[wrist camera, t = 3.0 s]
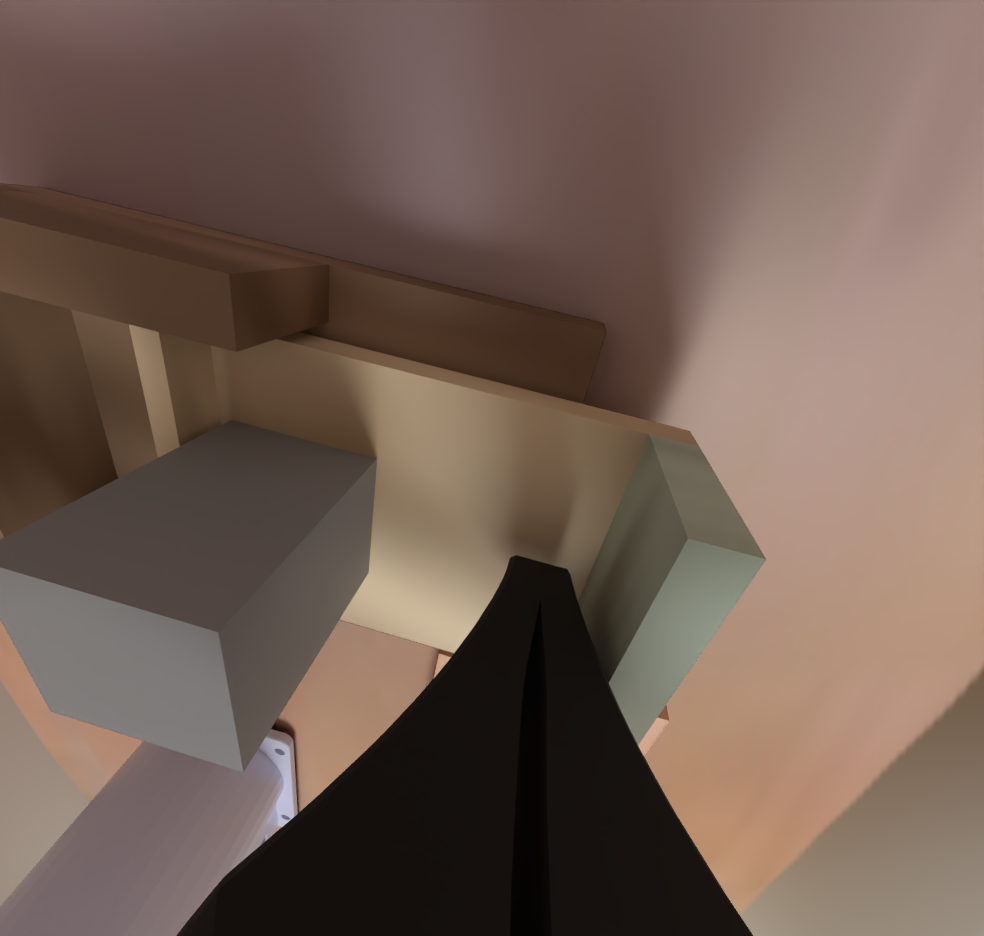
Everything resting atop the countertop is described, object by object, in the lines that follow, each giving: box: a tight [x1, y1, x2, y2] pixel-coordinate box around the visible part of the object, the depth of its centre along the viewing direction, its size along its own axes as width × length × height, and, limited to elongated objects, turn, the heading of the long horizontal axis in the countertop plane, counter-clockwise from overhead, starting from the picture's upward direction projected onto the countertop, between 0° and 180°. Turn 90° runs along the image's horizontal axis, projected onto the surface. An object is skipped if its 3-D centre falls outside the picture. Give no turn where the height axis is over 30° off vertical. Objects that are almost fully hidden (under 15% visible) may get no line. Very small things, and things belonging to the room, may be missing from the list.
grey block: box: [0, 420, 377, 773], centre depth 9 cm, size 4×4×5 cm
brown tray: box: [0, 183, 606, 653], centre depth 11 cm, size 11×14×4 cm
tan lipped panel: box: [129, 324, 766, 745], centre depth 10 cm, size 8×11×4 cm
